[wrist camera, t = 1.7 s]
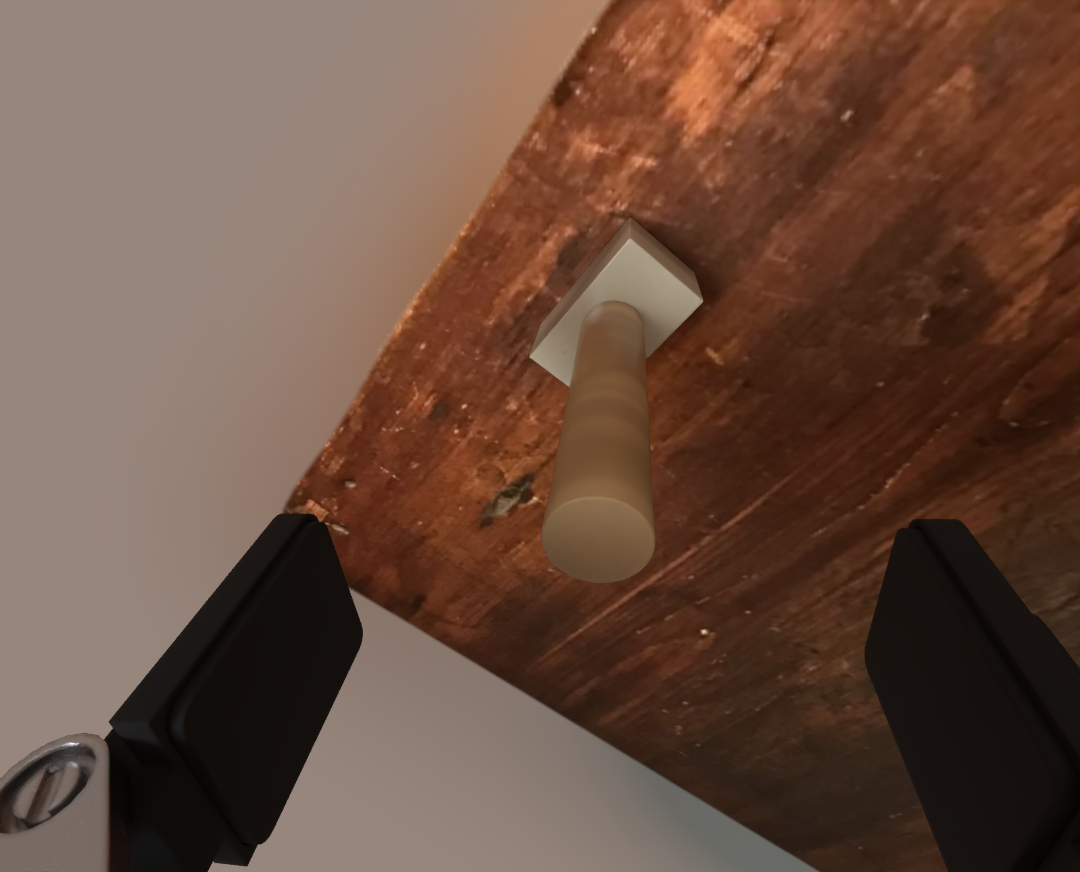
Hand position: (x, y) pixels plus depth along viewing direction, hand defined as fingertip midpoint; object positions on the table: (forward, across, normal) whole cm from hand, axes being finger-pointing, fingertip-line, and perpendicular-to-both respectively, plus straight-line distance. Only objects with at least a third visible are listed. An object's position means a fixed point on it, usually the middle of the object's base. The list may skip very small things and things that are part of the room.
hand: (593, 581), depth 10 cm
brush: (+14, 0, 0) cm, 14 cm away
